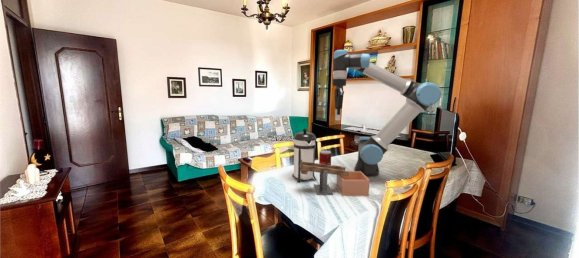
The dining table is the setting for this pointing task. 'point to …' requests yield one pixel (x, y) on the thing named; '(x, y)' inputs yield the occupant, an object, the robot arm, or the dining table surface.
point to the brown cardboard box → (353, 184)
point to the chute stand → (323, 185)
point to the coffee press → (304, 153)
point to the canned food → (325, 157)
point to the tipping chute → (322, 168)
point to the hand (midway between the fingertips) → (337, 120)
